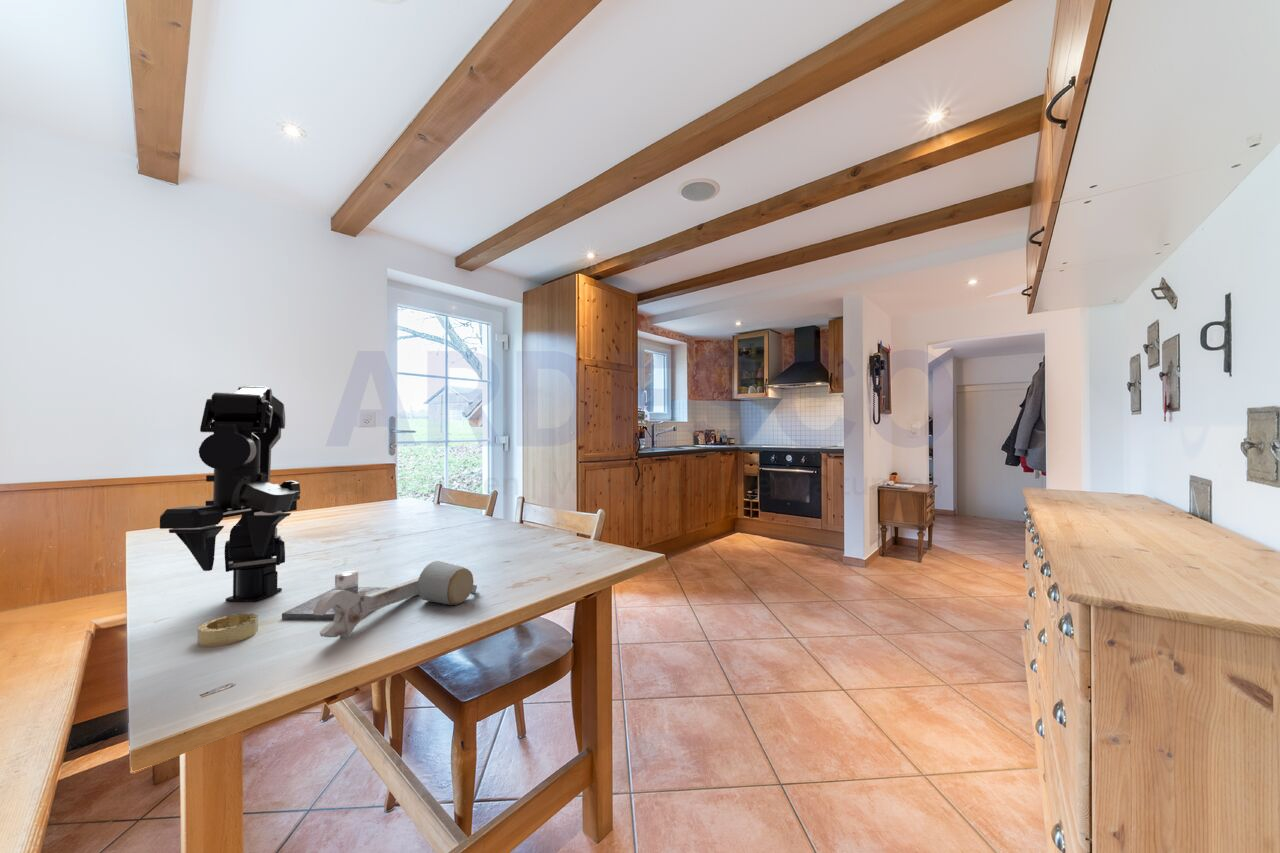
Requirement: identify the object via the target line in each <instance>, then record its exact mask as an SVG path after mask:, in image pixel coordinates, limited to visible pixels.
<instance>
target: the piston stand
mask: <svg viewBox="0 0 1280 853" xmlns="http://www.w3.org/2000/svg"><path fill="white" fill-rule="evenodd" d="M386 588H389V587H386V586H384V587H383V586H380V587H379V586H378V587H377V586H376V587H375V586H374V587H372V586H371V587H370V586H360V587H359V571H357V570H345V571H341V572H337V573H336V574H335V575H334V588H331V589H329V590H327V591H326V592H323V593H322V594H318V596H316V597H313V598H311V599H309V600H307V601H304V602H303V603H301V604H299V605H297V606H295V607H292V608H291V609H288V610H286V611H284V612H282V613H281V620H316V619H329V620H330V621H333V620H334V617H335V610H334V608H333V607H332V608H331V609H330V610H329V611H328V612H326V613H325V614H324V615H314V614H313V611H314V608H315V606H316V604H317V603H318V601H319V600H320V599H321V598H322V597H323V596H324V595H325V594H326V593H327V592H330V591H332V590H346V591H349V592H352V593H354V594H357V595H363V596H365V595H368V594H371V593H374V592H377V591H380V590H383V589H386Z"/></svg>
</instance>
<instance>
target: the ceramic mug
mask: <svg viewBox="0 0 1280 853" xmlns="http://www.w3.org/2000/svg"><path fill="white" fill-rule="evenodd" d="M418 578H419V580H418V586H417V589H418V595H419V597H420V598H421V599H422V600H423V601H428V602H432V603H439V604H444V605H449V606H450V605H451V606H456V605H459V604H460V605H461V604H462V603H464V602H465V601H466V600H467V599H468V598H469V596H470V595H471V593H472V594H475V593H476V591H477V589H478V586H477V584H474V577H473V573H472V572H471V570H470V569H468V568H466V567H465V566H461V565H458V564H453V563H448V562H445V561H442V560H434V561H432V562H430V563H429V564H427V565H426V566H425V567H424V568H423V569H422V571H421V572H420V574H419V576H418Z"/></svg>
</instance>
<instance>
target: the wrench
mask: <svg viewBox="0 0 1280 853" xmlns="http://www.w3.org/2000/svg"><path fill="white" fill-rule="evenodd" d="M418 580H419V577H417V578H414V579H410V580H408V581H407V580H406V581H405V582H403V583H399V584H396V585H393V586H390V587H389V588H386V589H383V590H380V591H377V592H374V593H371V594H368V595H365V596H363V595H357V594H354V593H352V592H349V591H346V590H332V591H330V592H327V591H326V592H327V593H326V594H325V595H324V596H323V597H322V598H321V599H320V600H319V601H318V603H317V604H316V606H315V608H314V611H313V614H314V615H324V614H325V613H326V612H328V611H329V610H330V609H331V608H332V607H333V608H334V610H335V617H334V620H332V621H330V622H329V623H327V624H326V625H325V626H324V627H322V629H321V630H319V635H320V637H322V638H323V637H324V638H338V637H344V636H345V638H347V637H348V638H349V637H351V635H352V633H353V631H354V629H355V628H356V627H357V625H358V624H360V622H361V620H363V619H364V618H365V617H366V616H367V615H368V614H370V613H371V612H374V611H377V610H379V609H381V608H385V607H387V606H389V605H393V604H395V603H399V602H402V601H403V600H407V599H409V598H412V597H415V596H417V595H419V594H418V589H417V586H418Z"/></svg>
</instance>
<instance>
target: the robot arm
mask: <svg viewBox="0 0 1280 853" xmlns="http://www.w3.org/2000/svg"><path fill="white" fill-rule="evenodd" d="M283 429H286V410H285V404H284V403H283V402H282V401H281V400H279V399H278V398H277V397H275V395H273V391H272V388H269V387H267V386H253V385H243V386H239V387H238V388H237V391H235V392H217V391H215V392H213V393H212V395H211V398H207V399H206V400H205V405H204V410H203V414H202V418H201V423H200V428H199V431H200V433H212V434H210V435H209V436H207V437H206V438H204V439H203V441H202V442H201V444H200V445H199V448H198V455H199V458H200V460H201V461H202V463H204V465H206V466H208V467H209V468H212V469H213V474H207V475H206V476H205V479H206V480H205V481H206V482H207V483H208V482H213V487H212V488H213V491H212V492H213V493H212V494H213V495H212V499H211V500H205V505H191V506H190V505H188V506H181V507H173V508H167V509H165V510H164V511H163V512H162V514H160V516H159V529H160V530H164V529H165V530H166V529H168V533H169V534H175V535H176V536H177V537H178V538H179V540H180V541H181V542H183V544H184V545H185V546H186V548H187V549H188V551H190V553H191V554H192V556H193V558H194V559H195V560H196V562H197V563H198V565H199V566H200V568H201V570H202V571H204V572H210V571H212V570H213V569H214V568H213V567H214V562H215V551H216V539H217V535H219V533H220V532H221V531H222V530H223V529H224V527H225V525H219V524H220V523H221V521H222V520H223V519H224V518H230V517H237V516H240V518H239V520H238V521H237V522H236V524H235V525H233V526H232V528H231V529H230V532H229V537H228V538H229V539H228V540H226V541H225V543H224V544H225V545H224V567H225V568H224V569H225V572H226V573H228V572H232V571H233V573H232V574H233V575H232V577H233V580H232V595H231V596H228V597H226V598H225V602H258V601H260V600H263V599H265V598H267V597H270V596H272V595H274V594H278V593H279V592H282V591H283V588H282V587H278V573H279V572H278V571H277V566H280V565H281V564H284V563H286V546H285V545H286V544H285V541H284V540H282V536H281V535H278V527H277V526H278V524H279V523H281V521H283V520H284V519H286V518H287V517H290V515H291V514H292V513H291V512H293V511H297V509H298V506H297V505H298V500H300V499H301V496H300V494H301V484H300V482H297V481H295V480H285V481H283V482H281V484H280V483H271V466H272V465H271V464H272V462H271V460H272V449H273V448H274V447H275V446H276V445H277V443H278V442H279V440H280V439H281V438H282V430H283Z"/></svg>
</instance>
